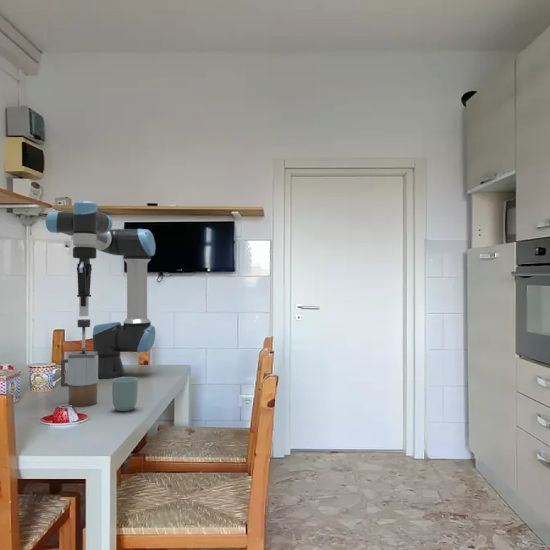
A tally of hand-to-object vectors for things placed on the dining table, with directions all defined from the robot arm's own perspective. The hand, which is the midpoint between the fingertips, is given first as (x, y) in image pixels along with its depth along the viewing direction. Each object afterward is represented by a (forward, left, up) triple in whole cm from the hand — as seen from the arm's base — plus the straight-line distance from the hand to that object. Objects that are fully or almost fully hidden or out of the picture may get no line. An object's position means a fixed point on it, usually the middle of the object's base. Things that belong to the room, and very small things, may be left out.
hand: (83, 316), depth 168 cm
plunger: (0, 0, -15) cm, 15 cm away
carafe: (0, -1, -30) cm, 30 cm away
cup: (+11, +15, -30) cm, 35 cm away
